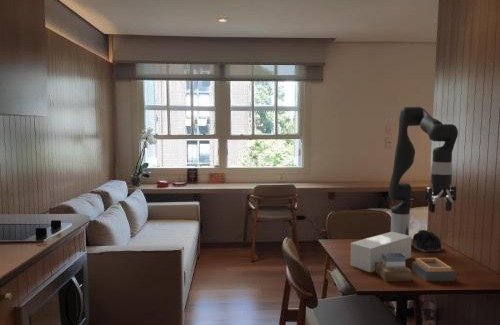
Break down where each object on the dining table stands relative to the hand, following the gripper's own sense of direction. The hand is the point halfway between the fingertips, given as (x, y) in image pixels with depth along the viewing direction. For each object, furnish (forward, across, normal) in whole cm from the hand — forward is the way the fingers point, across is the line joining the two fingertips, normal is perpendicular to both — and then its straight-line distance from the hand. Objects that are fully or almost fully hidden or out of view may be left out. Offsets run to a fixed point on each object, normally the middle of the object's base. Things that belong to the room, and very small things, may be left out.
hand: (440, 211), depth 155 cm
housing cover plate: (+20, +18, -6) cm, 28 cm away
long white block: (+28, +10, -23) cm, 38 cm away
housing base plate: (+24, +18, -6) cm, 30 cm away
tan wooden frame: (+28, +2, -1) cm, 28 cm away
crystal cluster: (+28, -24, -31) cm, 48 cm away
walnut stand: (+28, +18, -6) cm, 33 cm away
